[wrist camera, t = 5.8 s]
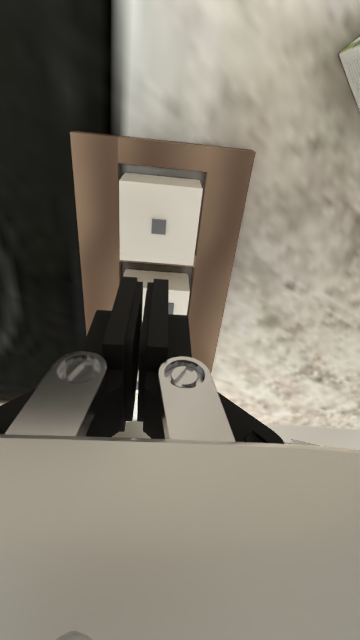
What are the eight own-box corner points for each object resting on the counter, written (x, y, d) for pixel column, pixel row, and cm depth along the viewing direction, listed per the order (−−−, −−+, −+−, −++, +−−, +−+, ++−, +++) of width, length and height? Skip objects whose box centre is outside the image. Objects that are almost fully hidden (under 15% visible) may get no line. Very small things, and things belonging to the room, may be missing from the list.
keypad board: (250, 149, 22) (255, 151, 21) (205, 386, 35) (206, 396, 33) (76, 131, 21) (69, 131, 20) (94, 380, 34) (91, 390, 32)
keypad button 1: (199, 179, 21) (203, 189, 19) (190, 250, 24) (193, 267, 21) (125, 172, 21) (118, 181, 18) (125, 244, 24) (119, 260, 21)
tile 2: (188, 273, 25) (190, 292, 23) (181, 325, 28) (182, 347, 25) (125, 268, 25) (119, 287, 22) (125, 321, 28) (120, 343, 25)
